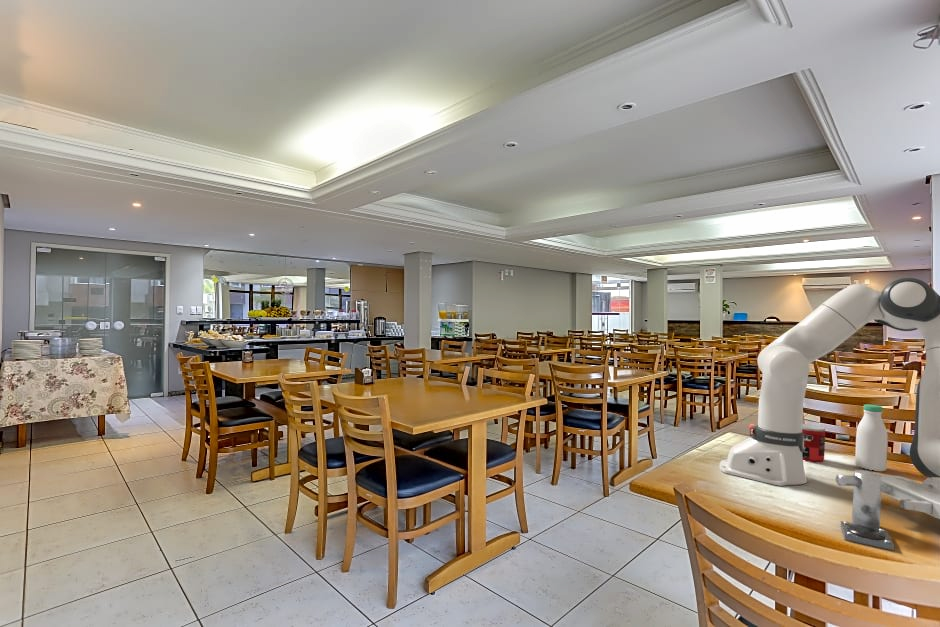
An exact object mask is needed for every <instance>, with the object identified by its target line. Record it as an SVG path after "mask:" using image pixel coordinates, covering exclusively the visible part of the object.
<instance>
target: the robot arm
mask: <svg viewBox="0 0 940 627" xmlns="http://www.w3.org/2000/svg"><path fill="white" fill-rule="evenodd" d="M872 321H874V322H876V323H877V324H880V325H883V326H886V327H889V328H891V329H894V330H895V331H896V330H897V331H899V332H900V331H901V332H913V331H916V330H918V331H919V332H920V333H921V334H922V336H923V340H924V346H925V348H924V349H925V367H924V371H923V374H922V376H921V378H920V379H919V381H918V383H917V386H916V387H917V388H916V395H915V410H914V411H915V413H914V430H913V431H914V433H913V436H912V441H911V442H910V447H909V459H910V461H911V463H912V464H913V466H914V469H916V470H917V471H918V472H919V473H920V474H921V475H923V476H925V477H926V478H925V479H924V480H923V481H922V482H917V481H915V480H912V479H911V478H910V479H909V478H907V477H903V476H900V475H893V474H892V475H891V474H880V473H878V474H879V475H881V476H882V489H881V494H884V495H885V496H887V497H890V498H893V499H895V500H896V501H899V502H900V503H899V506H900V507H901V508H903V509H905V510H907V511H916V512H921V513H924V514H927V515H930V516H931V517H933V518H935V519H937V520H940V295H939V293H937V292H936V290H935V289H933V287H932V286H931V285H930V284H928V283H927V282H925V281H924V280H921V279H919V278H913V277H903V278H898V279H895V280H893V281H891V282H890V283H888V284H887V285H886V286H885V287H884V288H883V289H882V290H881V291H879V290H875V289H874V288H872V287H871V286H868V285H865V284H862V283H853V284H850V285H848V286H846V287H844V288H843V289H841V290H840V291H838V292H836V293H835V294H833V295H832V296H831V297H829V298H828V299H826V300H825V301H823V303H821V304H820V305H819V306H818V307H816V308H815V309H814V310H813V311H812V312H810V313H809V314H808V315H807V316H805V318H804V319H802V320H801V321H799V322H798V323H796V325H795V326H793V327H791V328H790V329H788V330H787V331H786V332H784V333H782V334H781V335H780V336H779V337H777V338H776V339H774V340H773V341H771V343H770V344H768V345H767V346H765V347H764V348H763V349H762V350H760V352H759V354H758V356H757V360H756V361H757V366H758V369H759V371H760V372H761V373H762V376H761V377H762V379H761V385H760V386H761V387H760V392H759V398H758V408H757V409H758V412H757V415H758V416H757V424H756V425H755V424H754V423H752V424H749V426H748V430H749V437H748V438H745V439H744V440H742V441H739V442H738V443H736V444H734V445H732V447H731V448H730V450H729V452H728V454H727V455H728V456H727V458H725V459H722V460H721V461H720V462H719V470H720V471H721V472H722V473H725V474H727V475H732V476H736V477H741V478H745V479H749V480H754V481H757V482H758V481H759V482H761V483H766V484H770V485H774V486H780V487H782V486H783V487H784V486H788V485H795V486H796V485H803V484H806V483H808V478H807V476H806V471H805V466H804V461H803V457H802V451H803V449H804V433H803V431H802V424H803V413H804V412H803V411H804V400H805V398H806V392H807V386H808V380H809V378H808V377H809V374H810V364H811V363H813V362H815V361H817V360H818V359H820V358H822V357H823V356H824V355H826V354H829V353H831V352H832V351H834V350H835V349H836V348H837V347H839V346H840V345H841V344H843V343H844V342H845V341H847V340H848V339H849V338H850V337H852V336H853V335H854V334H856V332H858V331H859V330H860V329H861V328H863V327H864V326H865V325H867V324H868V323H869V322H872Z"/></svg>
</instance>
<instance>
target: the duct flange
mask: <svg viewBox="0 0 940 627" xmlns="http://www.w3.org/2000/svg"><path fill="white" fill-rule="evenodd" d="M840 528H841V533H842V535H843V538H844V540H845V541H848V542H852V543H856V544H861V545H865V546H870V547H875V548H879V549H883V550H887V549H888V551H892V550H893V551H895V550H894V549H895V545H894V543H893V540H892V538H891V536H890V534H889V533H888V531H887V530H886V529H884V528H880V529H877V528H872V527H867V526H863V525H858V524H853V523H852V522H848V521H846V520H845V521H842V520H840Z"/></svg>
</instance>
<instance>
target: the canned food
mask: <svg viewBox="0 0 940 627" xmlns="http://www.w3.org/2000/svg"><path fill="white" fill-rule="evenodd" d="M802 431H803V433H804V449H803V451H802V457H803V460H805V461H804V462H808V461H809V462H810V463H816V462H820V463H823V462H824V461H825V449H826V448H825V447H826V428H825V427H823V426H821V425H816V424H809V423H802ZM809 462H808V463H809Z"/></svg>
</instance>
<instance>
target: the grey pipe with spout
mask: <svg viewBox="0 0 940 627" xmlns="http://www.w3.org/2000/svg"><path fill="white" fill-rule="evenodd" d="M879 474H880V473H876V472H875V471H870V470H862V469H860V470H859V469H857V470H856V469H855V470H853V475H851V474H849V475H848V474H837V475H836V476H835V482H836V484H837V486H839V487H852V488H853V489H852V510H851V512H852V513H851V515H852V516H851V523H853V524H858V525H863V526H867V527H872V528H877V529H881V512H882V510H881V509H882V493H881V489H882V476H881V475H882V474H881V475H879Z"/></svg>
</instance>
